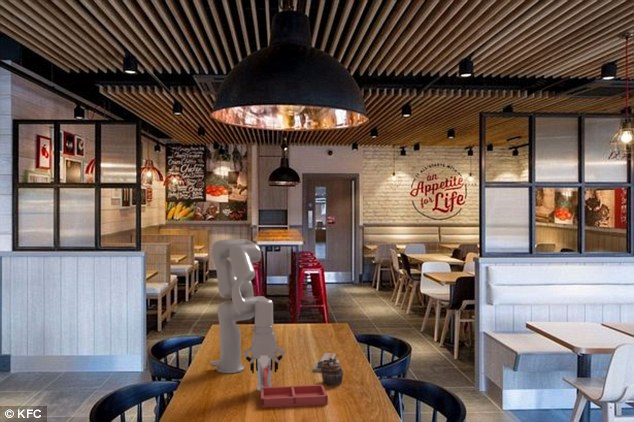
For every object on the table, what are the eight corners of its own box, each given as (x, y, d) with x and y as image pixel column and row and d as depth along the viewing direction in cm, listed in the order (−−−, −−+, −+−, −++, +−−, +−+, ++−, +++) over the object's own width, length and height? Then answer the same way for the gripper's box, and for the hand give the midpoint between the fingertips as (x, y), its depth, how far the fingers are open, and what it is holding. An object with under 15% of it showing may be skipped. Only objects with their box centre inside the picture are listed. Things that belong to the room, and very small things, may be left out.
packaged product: (319, 351, 256) (339, 352, 255) (319, 361, 256) (339, 362, 255) (312, 361, 239) (334, 362, 237) (312, 372, 239) (334, 373, 237)
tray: (261, 407, 195) (261, 399, 195) (260, 395, 208) (260, 387, 208) (327, 404, 198) (327, 396, 198) (323, 392, 211) (323, 384, 211)
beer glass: (259, 393, 210) (259, 356, 210) (253, 388, 216) (253, 352, 216) (275, 390, 213) (275, 354, 213) (268, 385, 219) (268, 350, 219)
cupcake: (336, 387, 217) (336, 363, 217) (316, 383, 222) (316, 360, 222) (347, 381, 225) (347, 358, 225) (328, 377, 230) (328, 354, 230)
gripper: (242, 332, 210) (242, 375, 210) (285, 331, 212) (286, 373, 212) (242, 328, 217) (243, 370, 217) (284, 327, 219) (284, 368, 219)
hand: (264, 371), depth 215 cm, fingers open, 8 cm apart
